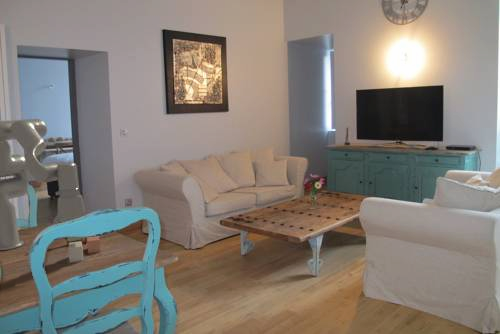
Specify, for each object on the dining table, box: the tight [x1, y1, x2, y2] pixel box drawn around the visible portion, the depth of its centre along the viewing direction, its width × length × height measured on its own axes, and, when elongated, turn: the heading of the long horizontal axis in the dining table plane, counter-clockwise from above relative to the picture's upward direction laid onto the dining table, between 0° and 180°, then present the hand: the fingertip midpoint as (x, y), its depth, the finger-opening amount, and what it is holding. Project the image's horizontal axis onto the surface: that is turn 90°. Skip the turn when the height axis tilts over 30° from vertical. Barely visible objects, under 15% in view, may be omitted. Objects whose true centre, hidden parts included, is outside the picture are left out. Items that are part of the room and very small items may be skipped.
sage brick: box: [66, 237, 81, 241], centre depth 185 cm, size 8×5×6 cm, turn 19°
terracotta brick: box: [86, 235, 101, 254], centre depth 197 cm, size 8×5×6 cm, turn 19°
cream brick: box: [67, 241, 84, 264], centre depth 187 cm, size 8×5×6 cm, turn 19°
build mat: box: [66, 253, 87, 264], centre depth 187 cm, size 9×7×1 cm
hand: (74, 236), depth 186 cm, fingers closed on sage brick, 5 cm apart
